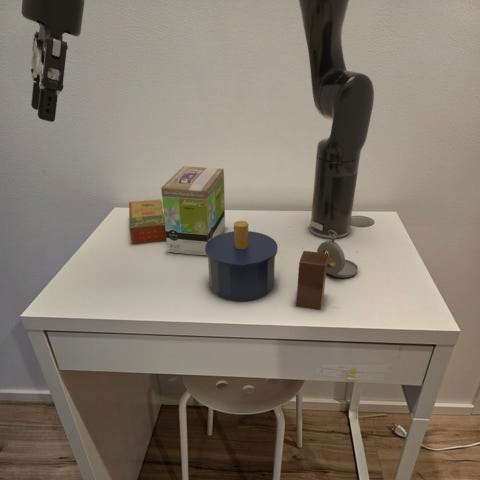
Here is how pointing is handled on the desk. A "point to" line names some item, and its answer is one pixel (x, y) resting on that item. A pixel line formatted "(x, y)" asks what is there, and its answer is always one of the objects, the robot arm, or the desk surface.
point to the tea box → (193, 209)
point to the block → (311, 279)
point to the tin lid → (241, 247)
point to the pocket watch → (337, 259)
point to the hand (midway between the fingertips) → (42, 114)
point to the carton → (146, 221)
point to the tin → (241, 280)
